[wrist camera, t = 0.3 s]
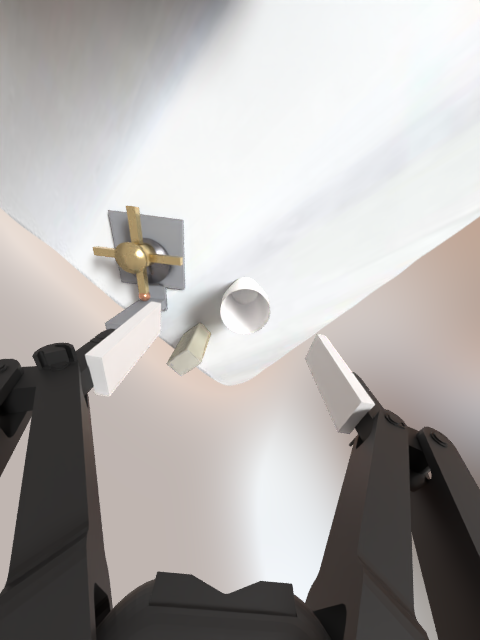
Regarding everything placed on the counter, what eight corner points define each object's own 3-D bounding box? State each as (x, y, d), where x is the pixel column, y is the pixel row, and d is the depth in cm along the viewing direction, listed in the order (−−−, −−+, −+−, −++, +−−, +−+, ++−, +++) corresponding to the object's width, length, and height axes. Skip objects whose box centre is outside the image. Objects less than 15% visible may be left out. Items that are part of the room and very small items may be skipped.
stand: (111, 210, 35) (37, 200, 22) (183, 219, 35) (149, 215, 23) (129, 306, 44) (83, 337, 32) (185, 313, 45) (162, 346, 32)
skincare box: (194, 344, 49) (180, 377, 38) (183, 333, 47) (165, 364, 37) (212, 332, 47) (202, 364, 36) (200, 320, 46) (186, 349, 35)
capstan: (100, 202, 33) (68, 197, 27) (186, 214, 34) (173, 211, 28) (118, 290, 41) (96, 301, 35) (188, 299, 42) (178, 311, 35)
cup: (228, 310, 44) (223, 336, 33) (223, 273, 40) (215, 290, 29) (265, 307, 43) (271, 333, 33) (263, 269, 39) (270, 285, 29)
